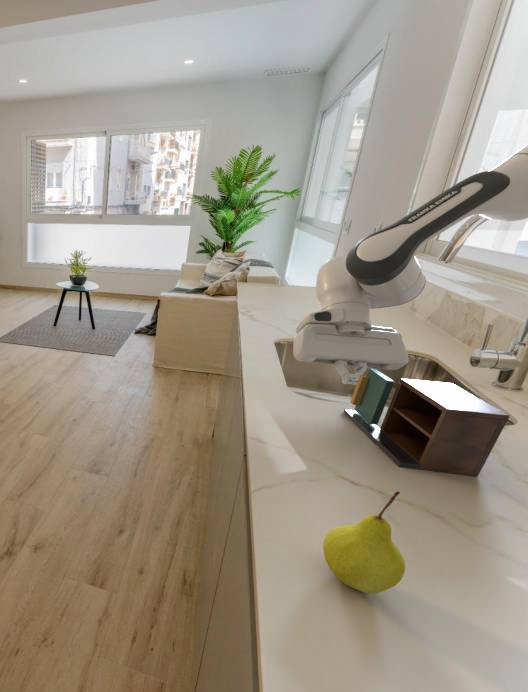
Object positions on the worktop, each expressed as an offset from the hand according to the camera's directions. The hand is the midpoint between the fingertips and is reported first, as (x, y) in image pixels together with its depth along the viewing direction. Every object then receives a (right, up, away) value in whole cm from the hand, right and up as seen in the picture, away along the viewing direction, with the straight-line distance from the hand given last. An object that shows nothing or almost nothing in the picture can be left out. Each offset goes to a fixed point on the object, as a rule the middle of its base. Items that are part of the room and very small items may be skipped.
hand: (352, 383), depth 86 cm
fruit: (-30, -21, -39) cm, 53 cm away
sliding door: (-1, -6, -4) cm, 8 cm away
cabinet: (+1, -10, -10) cm, 14 cm away
